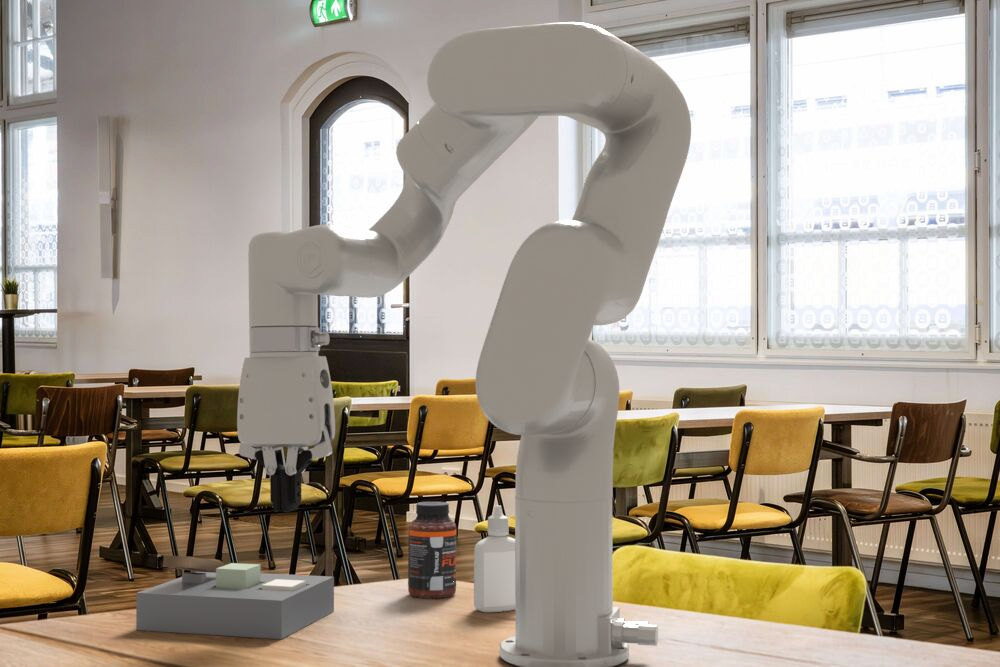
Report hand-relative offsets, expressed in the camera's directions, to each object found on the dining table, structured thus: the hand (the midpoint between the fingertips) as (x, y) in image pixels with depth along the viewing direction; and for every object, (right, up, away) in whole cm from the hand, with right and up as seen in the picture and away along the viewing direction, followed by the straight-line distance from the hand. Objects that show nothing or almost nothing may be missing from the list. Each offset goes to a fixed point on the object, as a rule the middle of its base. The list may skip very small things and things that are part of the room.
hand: (286, 510), depth 134 cm
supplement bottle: (+15, -13, +15) cm, 25 cm away
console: (-6, -13, +1) cm, 14 cm away
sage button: (-6, -10, +1) cm, 11 cm away
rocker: (-11, -7, +3) cm, 13 cm away
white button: (0, -11, 0) cm, 11 cm away
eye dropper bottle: (+23, -13, +7) cm, 28 cm away
